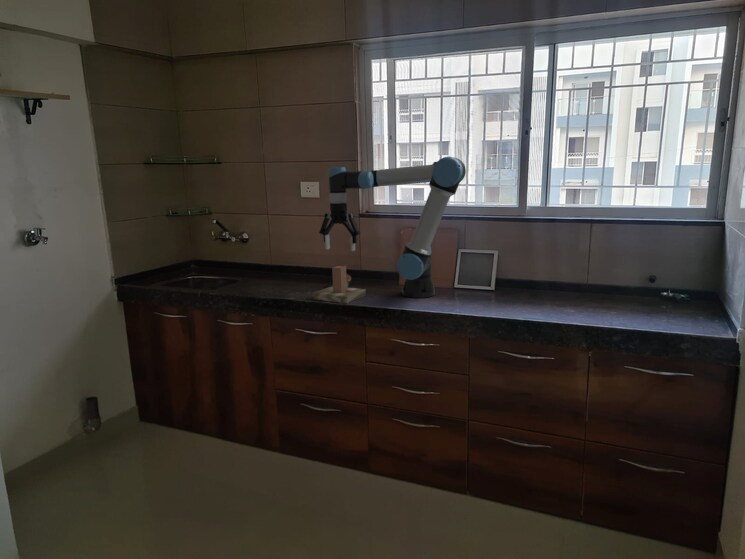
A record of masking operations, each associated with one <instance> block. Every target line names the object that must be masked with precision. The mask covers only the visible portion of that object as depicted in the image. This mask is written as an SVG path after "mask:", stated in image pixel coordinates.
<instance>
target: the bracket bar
mask: <svg viewBox="0 0 745 559" xmlns="http://www.w3.org/2000/svg"><path fill="white" fill-rule="evenodd" d="M331 272H332V286H333V292H336V293H344V294H347V284H346V274H347V266H346V267H345V265H344V266H342V265H336V266H333V267H332V271H331Z"/></svg>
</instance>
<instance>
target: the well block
mask: <svg viewBox="0 0 745 559" xmlns="http://www.w3.org/2000/svg"><path fill="white" fill-rule="evenodd" d="M366 291H367V290H366V289H365V288H364V289H363V288H358V287H357V288H356V287H349V286H348V287H347V294H344V293H336V292H333V285H332V286H329V287H326V288H323V289H321V290H318V291H314V292H313V300H318V301H325V302H332V303H333V302H334V303H339V304H340V303H341V304H349V302H350V303H352V302H354V301H357V300H358V299H361V298H363V297H366V295H367V294H366V293H367V292H366ZM351 301H352V302H351Z"/></svg>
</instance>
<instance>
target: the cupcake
mask: <svg viewBox="0 0 745 559" xmlns="http://www.w3.org/2000/svg"><path fill="white" fill-rule="evenodd" d="M344 267H346V268H347V264H345V265H344ZM351 281H352V276H351V275H350V274H348V273H346V284H347V287H348V288H349V283H350V282H351Z"/></svg>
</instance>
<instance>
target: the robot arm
mask: <svg viewBox="0 0 745 559" xmlns="http://www.w3.org/2000/svg"><path fill="white" fill-rule="evenodd" d="M466 171H467V170H466V165H465V164H464V162H463V161H462V160H461V159H459V158H457V157H452V156H444V157H442V158H440V159H438V161H434V162H433V163H432V164H424V165H413V166H405V167H394V168H383V169H375V170H374V169H371V170H356V171H355V170H354V171H347V170H346V167H345V166H337V167H336V166H334V167H331V166H330V167H329V169H328V190H329V202H330V204H329V210H330V212H327V213H324V219H323V220H322V221H323V222H322V224H321V227H320V229H319V234H321V235H323V243H324V247H325V248H324V249H325V250H326V251H327V250H330V249H331V245H330V244H331V242H330V241H331V240H330V238H331V237H330V234H329V233H330V231H331V230H332V228H333V227H334V226H335V224H339V225H341V224H342V225H343V226H344V227H345V228H346V230H347V231H348V232H349V233H350V235H351V236H350V237H349V238H350V251H351V252H355V251H356V243H357V238H358V237H357V236H359V235H361V230H360V229H359V227H358V225H357V223H356V220H355V217H354V213H347V212H348V204H347V201H348V200H347V197H348V196H347V190H350V189H351V190H352V189H354V190H355V189H357V190H359V189H360V190H361V189H363V190H367V189H371V188H377V187H379V188H380V187H390V186H402V185H411V184H413V185H414V184H422V183H423V184H424V183H428V185H429V187H430V190H429V193H428V196H427V198H426V200H425V204H424V206H423V208H422V212H421V214H420V216H419V219H418V222H417V225H416V227H415V229H414V232H413V235H412V237H411V240H410V241H409V242H408V243H407V242H406V244H405V246H404V248H403V251H402V254H401V255H400V257H399V258H398V259H397V263H396V269H397V273H398V274H399V275H400V276H401V278H403V279H405V281H404V284H403V287H402V296H404V297H406V298H414V299H415V298H416V299H419V298H420V299H423V298H430V297H433V296H435V295H436V290H435V287H434V282H433V280H432V253H433V252H432V247H431V245H432V243H433V241H434V238H435V235H436V233H437V231H438V227H439V225H440V222H441V221H442V219H443V215H444V213H445V210H446V208H447V205H448V204H449V200H450V198H451V197H453V196H454V195H456V193H457V190H458V188H459V185H460V183H461V182H462V181H463V180H464V178H465V177H466V173H467V172H466ZM330 219H331V220H330Z"/></svg>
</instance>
